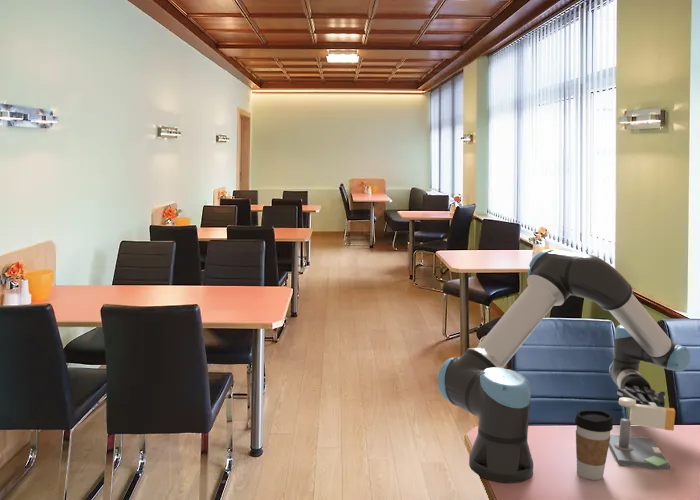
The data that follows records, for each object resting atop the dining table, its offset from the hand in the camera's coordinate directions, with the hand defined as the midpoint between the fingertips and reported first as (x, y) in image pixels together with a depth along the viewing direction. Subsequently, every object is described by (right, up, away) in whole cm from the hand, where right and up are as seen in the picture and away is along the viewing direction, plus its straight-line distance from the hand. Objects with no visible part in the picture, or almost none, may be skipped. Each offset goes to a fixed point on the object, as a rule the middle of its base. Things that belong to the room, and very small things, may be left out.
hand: (658, 416), depth 158 cm
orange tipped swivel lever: (-4, -9, +1) cm, 9 cm away
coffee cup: (-22, -11, -10) cm, 26 cm away
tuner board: (-5, -10, +2) cm, 11 cm away
